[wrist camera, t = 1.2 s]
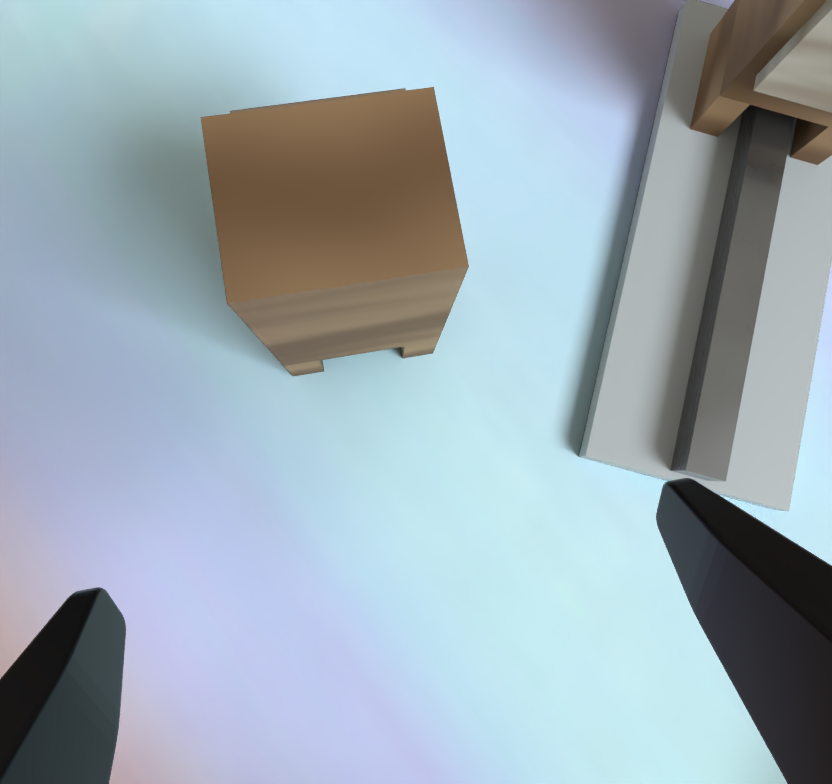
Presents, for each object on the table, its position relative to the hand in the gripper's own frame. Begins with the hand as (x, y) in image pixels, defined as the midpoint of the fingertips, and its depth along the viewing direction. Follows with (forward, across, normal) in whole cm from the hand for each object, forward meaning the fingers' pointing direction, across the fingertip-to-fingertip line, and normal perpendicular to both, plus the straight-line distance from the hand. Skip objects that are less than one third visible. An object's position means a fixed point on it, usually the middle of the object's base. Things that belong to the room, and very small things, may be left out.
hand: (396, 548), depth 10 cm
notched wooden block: (+15, 0, +4) cm, 15 cm away
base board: (+15, -15, +4) cm, 22 cm away
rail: (+15, -15, +4) cm, 22 cm away
